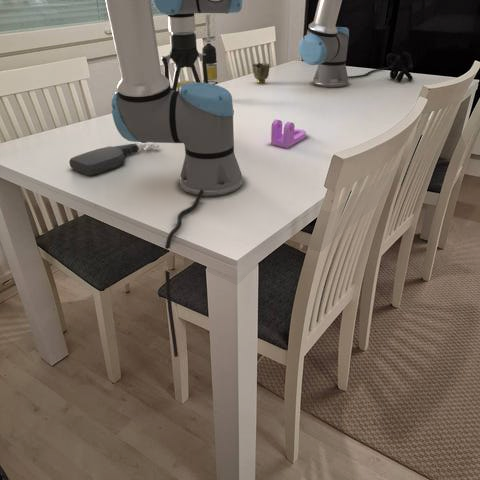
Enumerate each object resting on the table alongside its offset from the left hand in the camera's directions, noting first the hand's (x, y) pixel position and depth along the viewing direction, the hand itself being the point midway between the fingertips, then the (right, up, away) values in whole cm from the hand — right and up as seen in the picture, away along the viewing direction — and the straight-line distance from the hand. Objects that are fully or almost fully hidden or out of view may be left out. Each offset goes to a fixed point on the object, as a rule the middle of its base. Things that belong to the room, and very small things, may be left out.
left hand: (188, 113), depth 140 cm
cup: (+26, +30, +60) cm, 72 cm away
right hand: (+17, +70, +46) cm, 85 cm away
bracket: (+32, -10, -4) cm, 33 cm away
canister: (0, -2, +2) cm, 3 cm away
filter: (+5, +17, +39) cm, 43 cm away
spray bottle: (-18, -17, -15) cm, 29 cm away
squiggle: (+88, +32, +60) cm, 112 cm away
